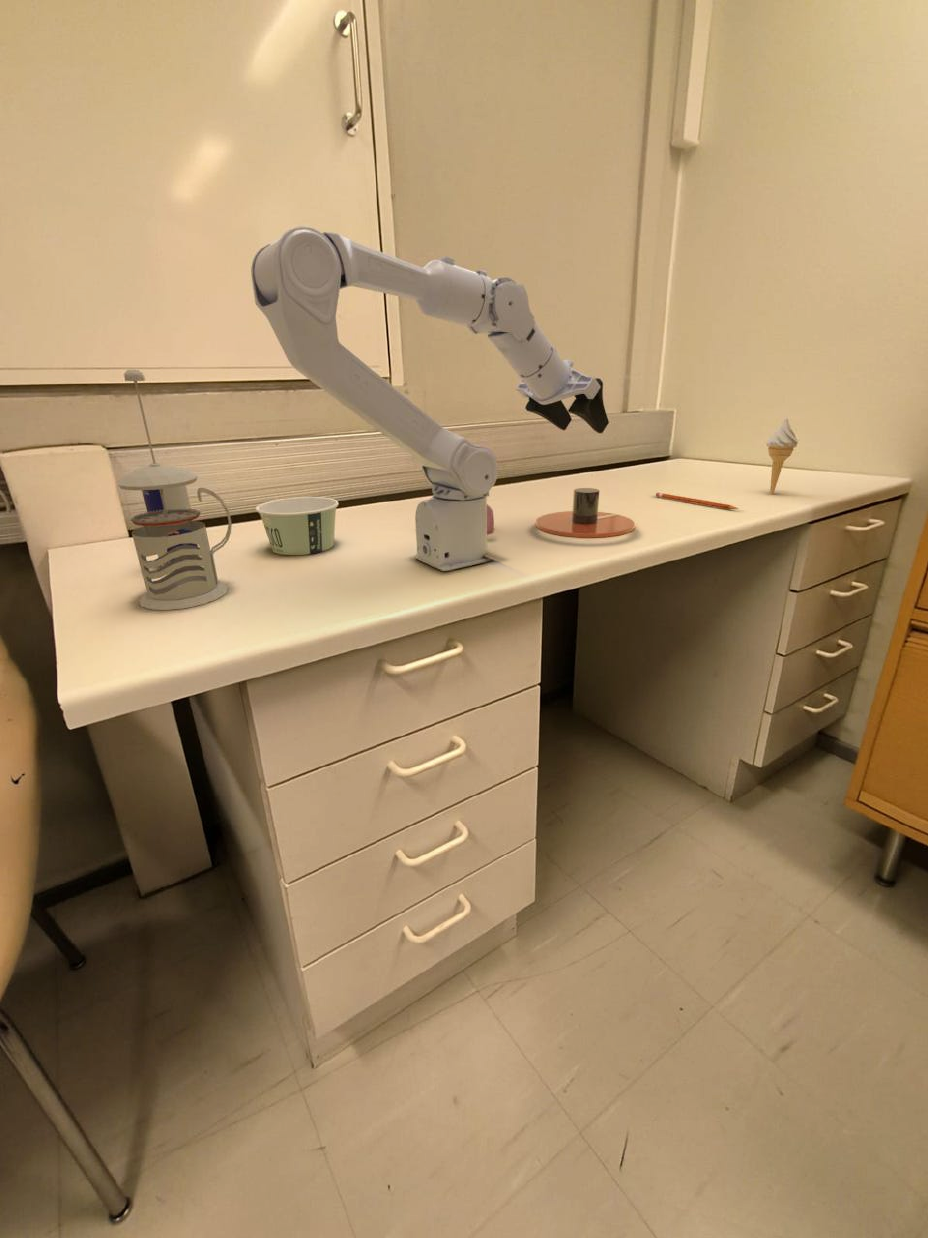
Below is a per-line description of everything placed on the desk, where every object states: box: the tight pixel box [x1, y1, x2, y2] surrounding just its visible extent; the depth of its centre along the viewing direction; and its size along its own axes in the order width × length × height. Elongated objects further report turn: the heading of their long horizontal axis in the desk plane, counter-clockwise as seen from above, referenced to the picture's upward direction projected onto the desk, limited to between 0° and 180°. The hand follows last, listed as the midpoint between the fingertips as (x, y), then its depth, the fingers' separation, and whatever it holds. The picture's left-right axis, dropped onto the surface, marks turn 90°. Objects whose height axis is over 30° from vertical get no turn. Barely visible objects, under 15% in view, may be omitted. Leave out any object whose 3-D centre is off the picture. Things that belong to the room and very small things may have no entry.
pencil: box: [655, 492, 740, 510], centre depth 109 cm, size 1×18×1 cm, turn 36°
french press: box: [116, 368, 233, 611], centre depth 64 cm, size 10×12×25 cm
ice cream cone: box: [766, 417, 799, 495], centre depth 114 cm, size 6×6×15 cm
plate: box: [535, 487, 636, 539], centre depth 90 cm, size 16×16×6 cm
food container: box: [255, 496, 339, 556], centre depth 85 cm, size 12×12×6 cm
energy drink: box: [141, 485, 202, 567], centre depth 77 cm, size 5×5×12 cm
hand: (584, 426), depth 85 cm, fingers open, 7 cm apart
